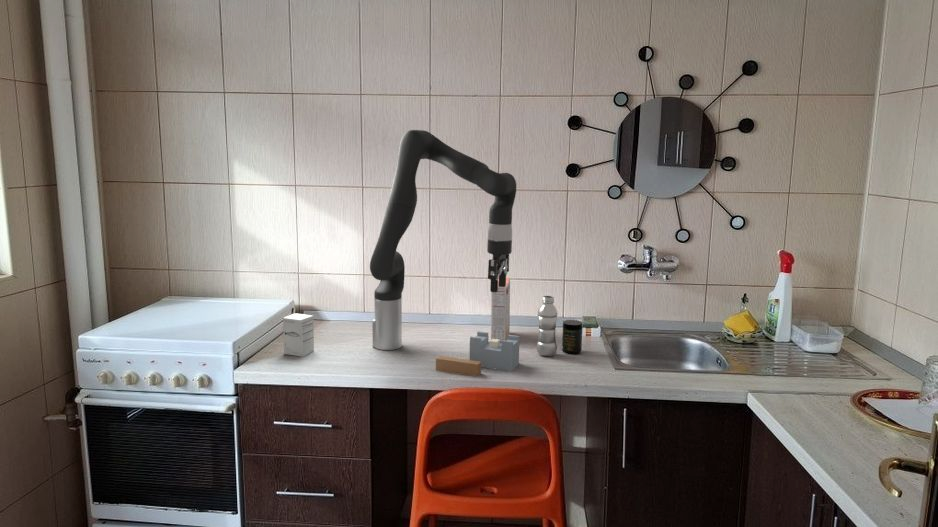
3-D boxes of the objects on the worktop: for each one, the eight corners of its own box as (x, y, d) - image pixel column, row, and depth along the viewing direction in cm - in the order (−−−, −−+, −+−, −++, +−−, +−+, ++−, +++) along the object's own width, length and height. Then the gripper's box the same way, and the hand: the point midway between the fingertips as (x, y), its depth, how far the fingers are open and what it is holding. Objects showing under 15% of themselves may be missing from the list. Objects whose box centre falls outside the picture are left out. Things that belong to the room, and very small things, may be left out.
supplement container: (583, 355, 230) (584, 325, 229) (562, 354, 231) (563, 324, 229) (580, 349, 237) (581, 320, 235) (560, 348, 237) (561, 319, 235)
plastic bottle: (555, 358, 226) (557, 299, 223) (535, 357, 227) (537, 298, 224) (557, 353, 232) (559, 295, 229) (537, 351, 234) (539, 294, 230)
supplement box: (283, 354, 227) (281, 317, 225) (296, 348, 234) (295, 312, 232) (301, 357, 224) (300, 319, 222) (315, 351, 231) (313, 314, 229)
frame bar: (435, 370, 214) (435, 358, 213) (439, 368, 216) (439, 355, 216) (477, 377, 208) (477, 364, 208) (481, 374, 211) (481, 361, 210)
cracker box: (493, 332, 257) (494, 277, 254) (509, 332, 257) (511, 277, 253) (489, 342, 244) (490, 284, 240) (506, 343, 243) (507, 285, 239)
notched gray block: (469, 365, 218) (469, 337, 217) (478, 358, 226) (478, 331, 224) (511, 371, 214) (512, 342, 212) (518, 363, 221) (519, 335, 219)
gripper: (495, 234, 220) (493, 283, 223) (480, 240, 207) (479, 292, 210) (517, 236, 218) (515, 286, 221) (504, 242, 204) (502, 295, 207)
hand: (498, 289), depth 215 cm, fingers open, 8 cm apart
